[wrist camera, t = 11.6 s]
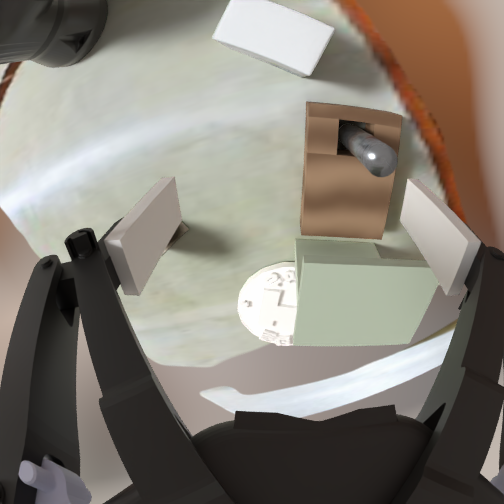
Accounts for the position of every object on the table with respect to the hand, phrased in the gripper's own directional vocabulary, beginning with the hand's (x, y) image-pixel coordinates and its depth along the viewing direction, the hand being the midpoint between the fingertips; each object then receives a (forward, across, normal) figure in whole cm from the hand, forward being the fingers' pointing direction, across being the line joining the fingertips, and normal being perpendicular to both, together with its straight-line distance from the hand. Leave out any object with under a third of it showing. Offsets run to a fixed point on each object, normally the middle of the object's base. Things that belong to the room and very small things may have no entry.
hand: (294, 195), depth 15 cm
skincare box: (+25, +1, -12) cm, 27 cm away
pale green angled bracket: (+24, -8, +14) cm, 29 cm away
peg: (+24, -9, +1) cm, 26 cm away
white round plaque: (+24, -2, +32) cm, 40 cm away
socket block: (+24, -9, +6) cm, 26 cm away
